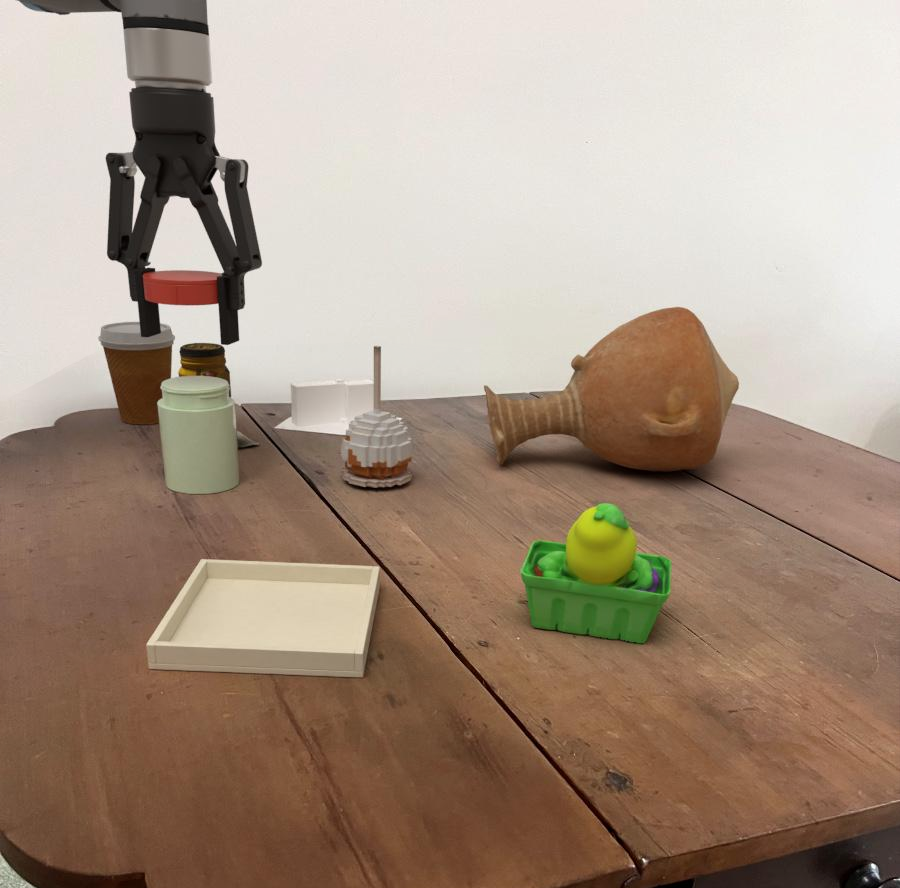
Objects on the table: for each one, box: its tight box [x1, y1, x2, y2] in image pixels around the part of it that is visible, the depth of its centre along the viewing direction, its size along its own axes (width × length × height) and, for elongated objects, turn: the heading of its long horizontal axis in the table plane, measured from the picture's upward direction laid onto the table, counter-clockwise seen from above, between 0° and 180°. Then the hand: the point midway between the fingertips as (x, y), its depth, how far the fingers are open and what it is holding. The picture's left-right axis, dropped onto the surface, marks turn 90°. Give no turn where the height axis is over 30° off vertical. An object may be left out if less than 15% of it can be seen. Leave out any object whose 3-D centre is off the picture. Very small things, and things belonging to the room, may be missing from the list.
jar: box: [157, 376, 241, 495], centre depth 99 cm, size 8×8×11 cm
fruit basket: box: [520, 502, 672, 644], centre depth 71 cm, size 11×9×11 cm
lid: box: [143, 269, 222, 306], centre depth 93 cm, size 8×8×2 cm
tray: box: [145, 558, 381, 678], centre depth 71 cm, size 15×15×2 cm
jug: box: [483, 306, 740, 473], centre depth 109 cm, size 20×19×30 cm
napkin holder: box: [273, 378, 403, 436], centre depth 125 cm, size 15×11×6 cm
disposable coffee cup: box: [97, 321, 176, 425], centre depth 121 cm, size 10×10×12 cm
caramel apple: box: [340, 345, 414, 489], centre depth 101 cm, size 8×8×15 cm
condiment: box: [178, 342, 260, 448], centre depth 112 cm, size 7×8×12 cm
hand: (190, 338), depth 95 cm, fingers closed on lid, 8 cm apart
